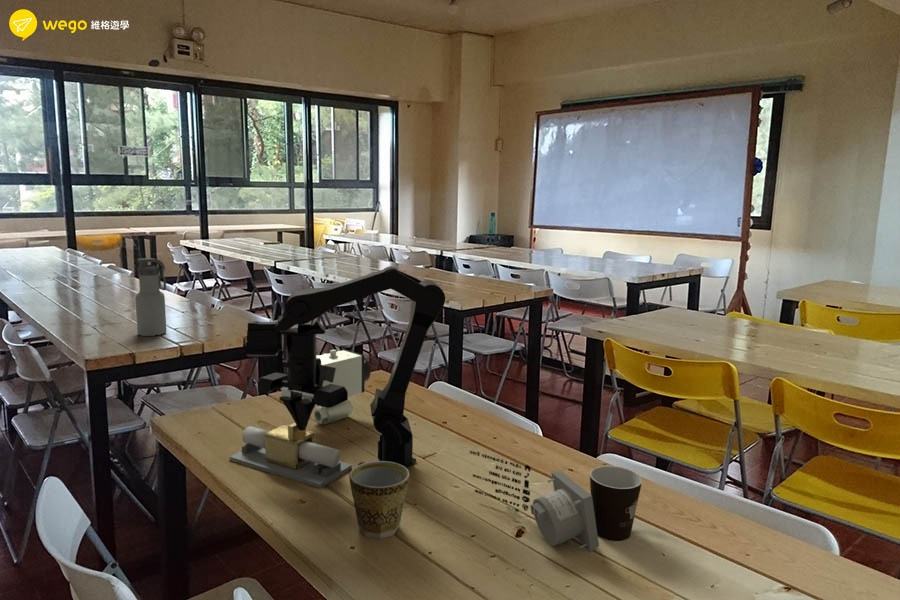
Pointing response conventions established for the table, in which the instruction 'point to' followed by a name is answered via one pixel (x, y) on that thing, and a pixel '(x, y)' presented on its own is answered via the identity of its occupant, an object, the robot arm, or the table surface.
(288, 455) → the coupling
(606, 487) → the brown paper cup
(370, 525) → the ceramic cup
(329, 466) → the pipe run
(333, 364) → the ball valve
